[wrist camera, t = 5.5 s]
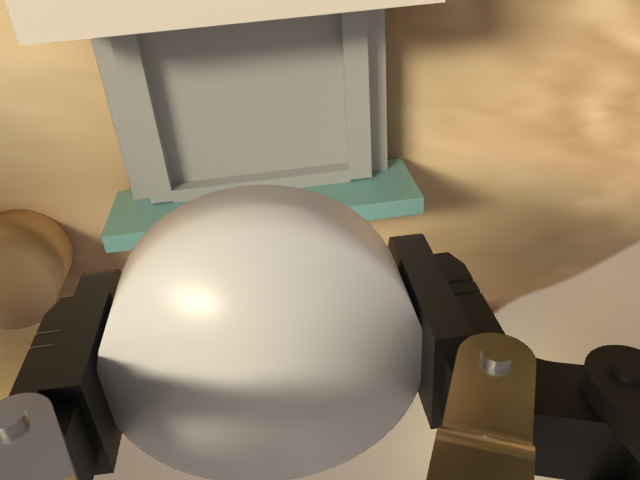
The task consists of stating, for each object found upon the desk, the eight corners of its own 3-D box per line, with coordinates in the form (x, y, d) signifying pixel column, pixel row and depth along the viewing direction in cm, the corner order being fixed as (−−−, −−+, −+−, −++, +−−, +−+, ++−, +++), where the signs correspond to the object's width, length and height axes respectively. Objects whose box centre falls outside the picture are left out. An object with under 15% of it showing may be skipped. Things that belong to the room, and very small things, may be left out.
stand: (-3, 290, 31) (-29, 334, 28) (-37, 215, 28) (-68, 255, 25) (84, 279, 31) (68, 322, 28) (58, 204, 29) (37, 242, 26)
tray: (122, 206, 29) (106, 253, 25) (51, -46, 23) (17, -32, 19) (400, 172, 30) (423, 213, 26) (400, -79, 24) (429, -71, 20)
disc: (81, 203, 11) (52, 263, 9) (402, 168, 11) (430, 219, 10) (151, 426, 14) (139, 501, 12) (400, 393, 15) (421, 461, 13)
